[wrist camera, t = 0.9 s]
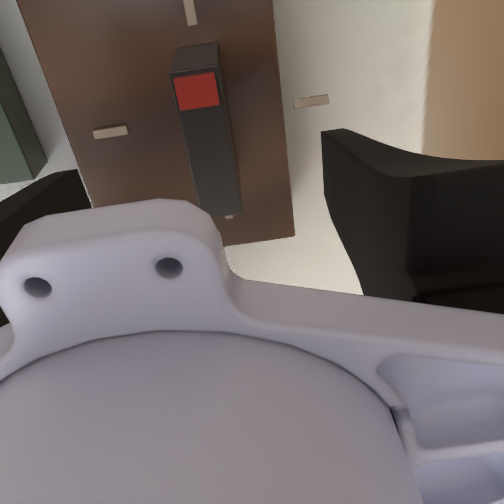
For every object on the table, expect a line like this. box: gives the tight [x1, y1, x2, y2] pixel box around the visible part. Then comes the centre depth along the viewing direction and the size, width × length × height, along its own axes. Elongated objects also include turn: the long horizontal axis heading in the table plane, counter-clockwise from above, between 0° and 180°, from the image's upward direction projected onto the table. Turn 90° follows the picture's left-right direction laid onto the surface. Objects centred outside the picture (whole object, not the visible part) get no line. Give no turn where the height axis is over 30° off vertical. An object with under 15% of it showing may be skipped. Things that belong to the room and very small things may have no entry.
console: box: [16, 0, 329, 247], centre depth 20 cm, size 13×11×3 cm
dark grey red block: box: [168, 43, 243, 218], centre depth 18 cm, size 6×2×4 cm, turn 8°
